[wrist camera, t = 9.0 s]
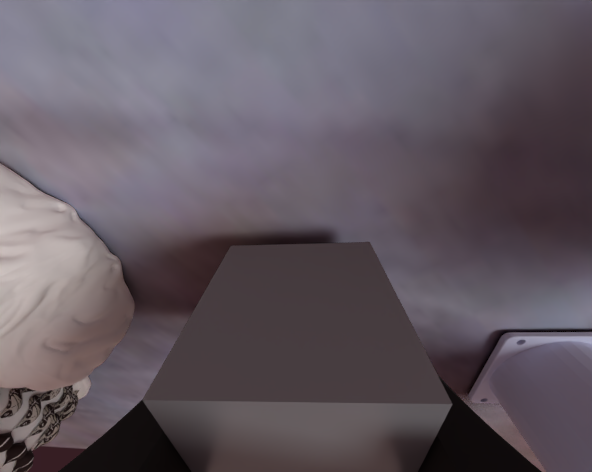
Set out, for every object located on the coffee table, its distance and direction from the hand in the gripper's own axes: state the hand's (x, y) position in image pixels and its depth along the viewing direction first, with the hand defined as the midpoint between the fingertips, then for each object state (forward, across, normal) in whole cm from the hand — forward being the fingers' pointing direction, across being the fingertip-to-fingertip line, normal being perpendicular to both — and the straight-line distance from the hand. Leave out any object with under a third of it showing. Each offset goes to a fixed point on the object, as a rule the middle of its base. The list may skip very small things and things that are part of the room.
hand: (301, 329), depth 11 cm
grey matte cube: (+2, 0, 0) cm, 2 cm away
